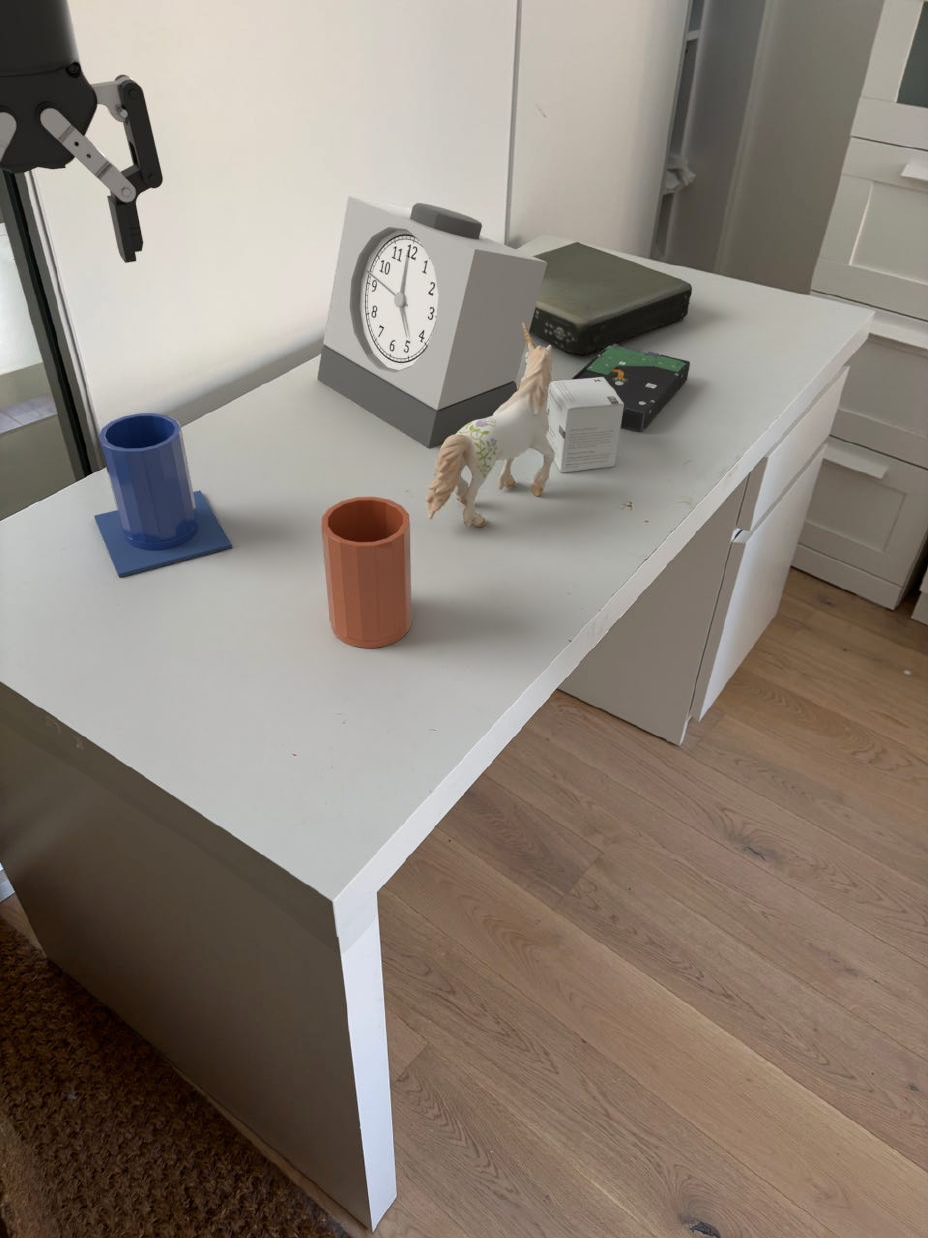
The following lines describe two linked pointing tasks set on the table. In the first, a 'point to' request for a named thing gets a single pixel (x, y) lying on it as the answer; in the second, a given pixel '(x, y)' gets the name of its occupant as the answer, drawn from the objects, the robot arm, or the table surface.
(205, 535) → the blue mat
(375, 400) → the alarm clock
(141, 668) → the table surface
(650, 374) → the disk drive
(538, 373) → the unicorn figurine
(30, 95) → the robot arm
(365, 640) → the terracotta cup
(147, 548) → the blue cup
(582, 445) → the product carton
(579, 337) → the network switch
